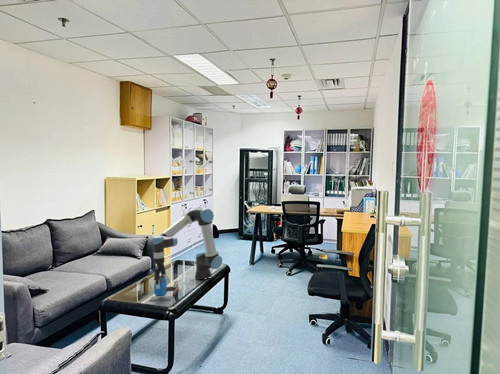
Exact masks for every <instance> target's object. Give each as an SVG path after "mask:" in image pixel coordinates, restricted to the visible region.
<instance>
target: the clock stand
mask: <svg viewBox="0 0 500 374" xmlns="http://www.w3.org/2000/svg"><path fill="white" fill-rule="evenodd" d="M168 291H173V292H172V296H173V297H175V296H176V295H177V293H178V291H180V287H179V286H167V289H166V292H168Z"/></svg>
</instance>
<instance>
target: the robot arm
mask: <svg viewBox="0 0 500 374" xmlns="http://www.w3.org/2000/svg"><path fill="white" fill-rule="evenodd" d="M214 216H215V215H214V212H213V211H212V209H211V208H207V207H195V208H192V209H190V210H188V211H187V212H186V213H184V214H183V216H182V217H181V218H180V219H179V220H178V221H176V222H175V223H173V224H172V225H171V226H170V227H168V228H167V229H166V230H165V231H163V232H162V233H161V234H159V235H154V237H153V239H152V248H153V262H154V264H156V265H155V266H154V279H153V280H154V282H155V281H156V289H160V281H159V275H164V276H165V275H166V273H167V272H166V269H165V264H164V263H165V249H167V248H168V249H169V248H172V247H176V246H177V245H178V241H179V240H178V238H177V237H176V236H175V235H177V234H178V233H179V232H180V231H181V230H183V229H184V228H186V227H187V226H188V225H191V224H192V223H195V222H197V223H198V226H199V227H200V229H201V233H202V238H203V244H204V248H205V251H201V252H200V251H199V252H197V253H196V254H195V266H196V271H195V275H194V279H195V280H196V279H205V278H208V277H211V276H212V277H213V275H212V274H213V273H212V271H211V269H212V270H218V269H220V267H221V266H222V264H223V257H222V256H221V255H219V252H218V250H216V243H215V239H214V235H213V229H212V223H213V221H214ZM165 277H166V276H165Z"/></svg>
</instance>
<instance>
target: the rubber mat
mask: <svg viewBox="0 0 500 374" xmlns="http://www.w3.org/2000/svg"><path fill="white" fill-rule="evenodd" d="M173 297H174V296H173V295H165V296H156V295H154V296H151V297H150V298H149V300H148V302H161V301H163V302H164V301H165V302H167V301H169V302H170V301H171V300H172V299H173Z"/></svg>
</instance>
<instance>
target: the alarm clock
mask: <svg viewBox="0 0 500 374" xmlns="http://www.w3.org/2000/svg"><path fill="white" fill-rule="evenodd" d="M159 281H160V289H156V281H155V280H154V284H153V286H154V287H153V293H154V296H166V293H167V291H166V289H167V287H168V284H167V283H168V282H167V279H166V276H164V275H161V274H160V275H159Z"/></svg>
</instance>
